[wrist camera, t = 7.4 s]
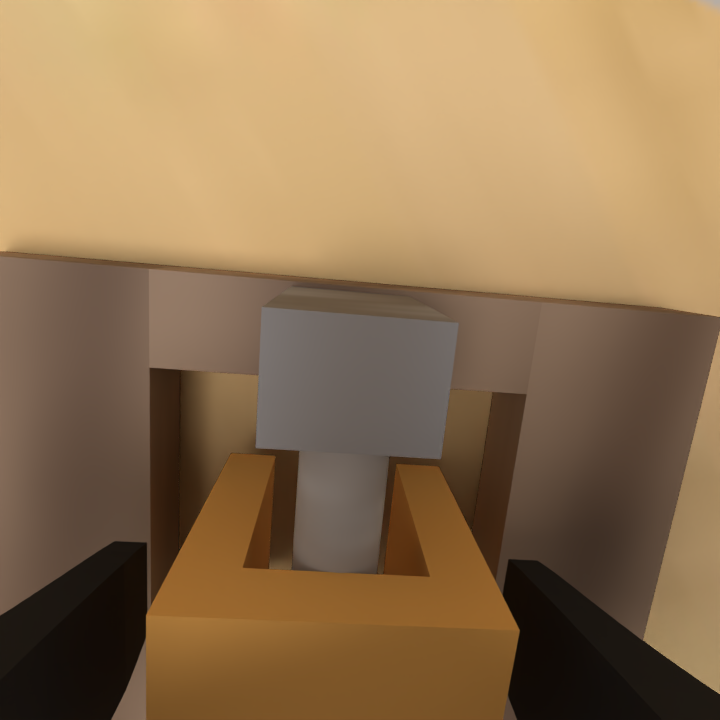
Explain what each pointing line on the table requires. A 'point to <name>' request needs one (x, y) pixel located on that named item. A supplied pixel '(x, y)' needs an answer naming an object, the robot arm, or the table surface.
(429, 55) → the table surface
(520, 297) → the slotted shelf
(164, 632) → the orange slotted block
